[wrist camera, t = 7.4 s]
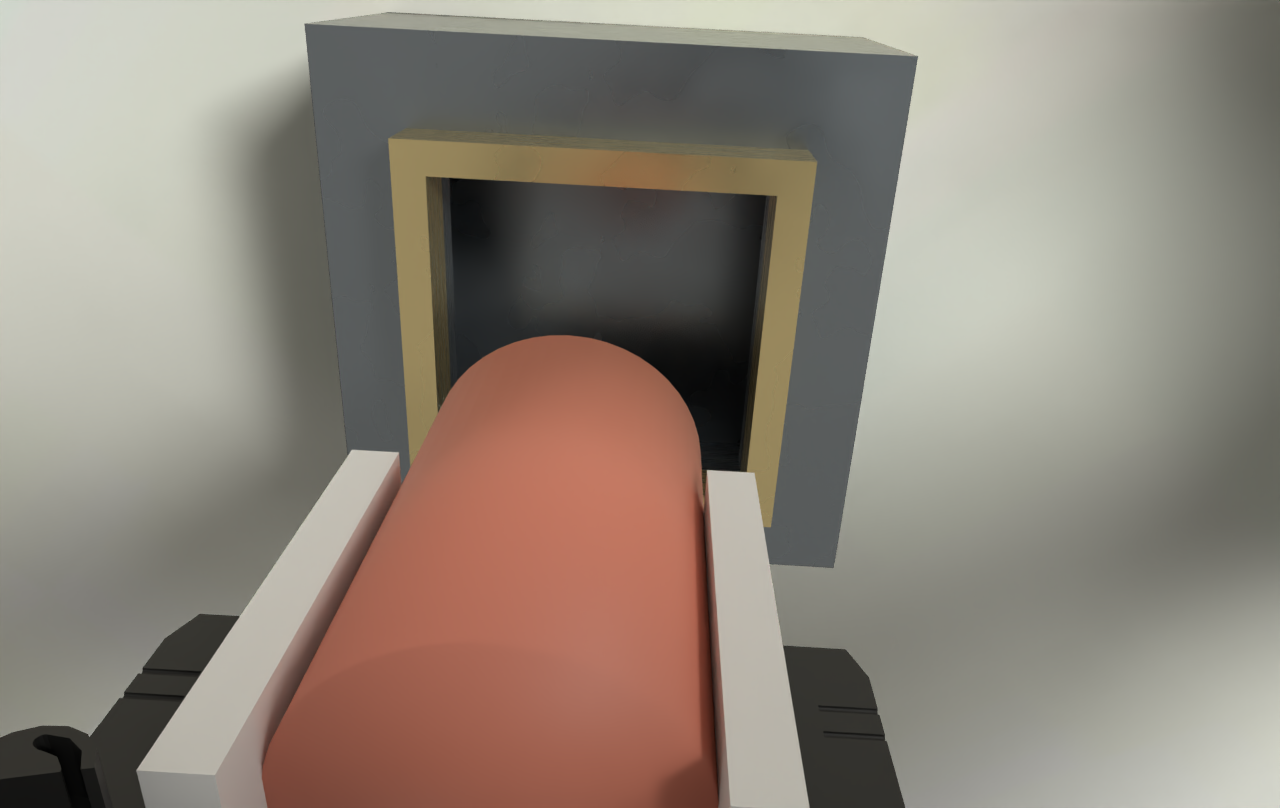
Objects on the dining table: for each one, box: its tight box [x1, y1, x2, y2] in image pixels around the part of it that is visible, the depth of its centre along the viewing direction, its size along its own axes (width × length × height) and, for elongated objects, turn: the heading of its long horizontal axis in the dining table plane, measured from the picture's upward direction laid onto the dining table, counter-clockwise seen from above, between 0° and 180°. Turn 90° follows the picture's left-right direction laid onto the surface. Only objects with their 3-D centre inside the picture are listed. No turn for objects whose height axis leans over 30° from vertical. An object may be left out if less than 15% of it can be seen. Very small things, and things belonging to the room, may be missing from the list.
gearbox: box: [305, 12, 918, 568], centre depth 26 cm, size 14×14×8 cm
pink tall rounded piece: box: [262, 335, 719, 808], centre depth 13 cm, size 5×5×10 cm
